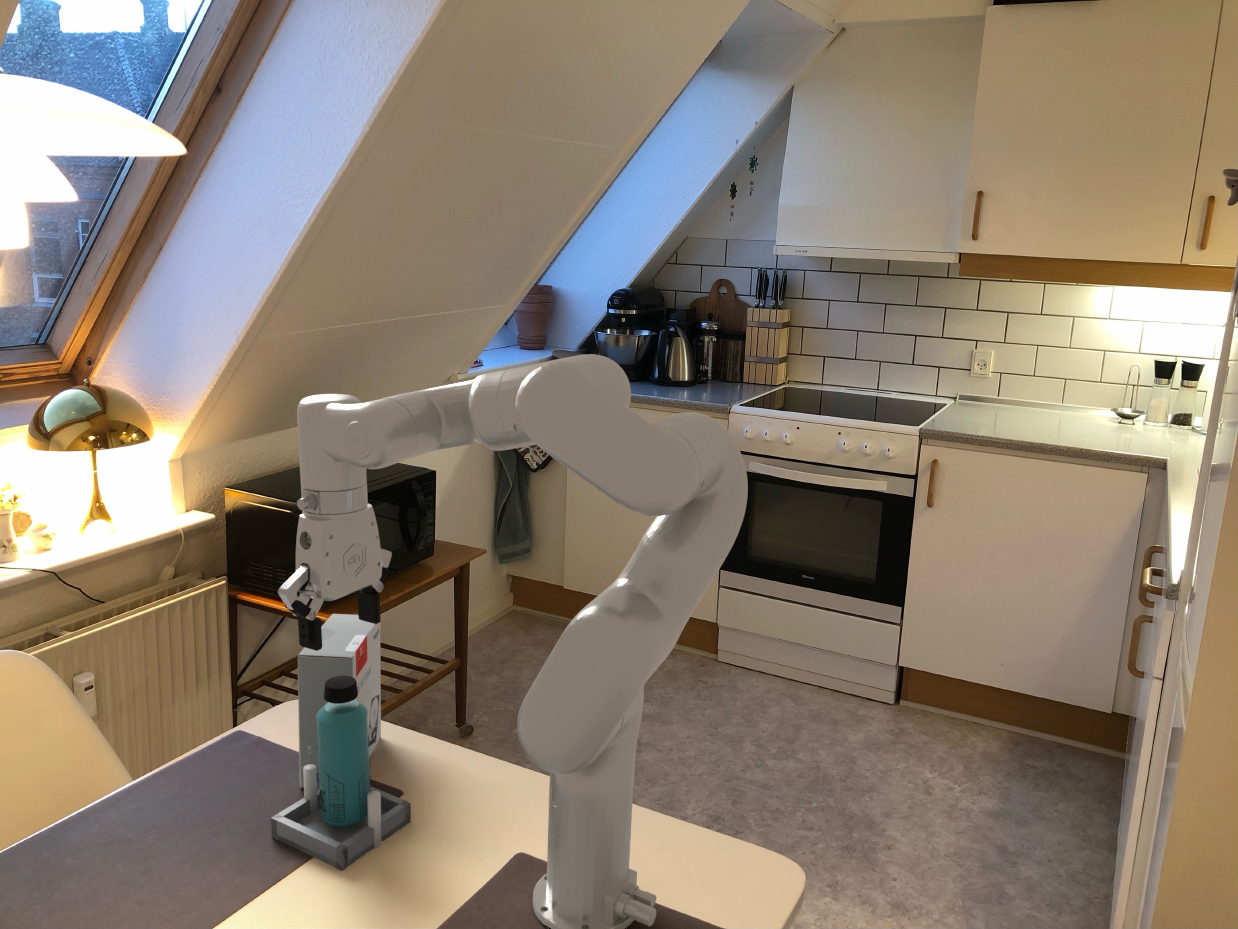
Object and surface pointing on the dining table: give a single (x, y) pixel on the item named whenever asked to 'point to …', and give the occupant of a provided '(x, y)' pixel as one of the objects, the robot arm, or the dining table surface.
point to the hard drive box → (342, 654)
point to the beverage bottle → (343, 753)
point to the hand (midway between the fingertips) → (341, 634)
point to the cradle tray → (338, 842)
